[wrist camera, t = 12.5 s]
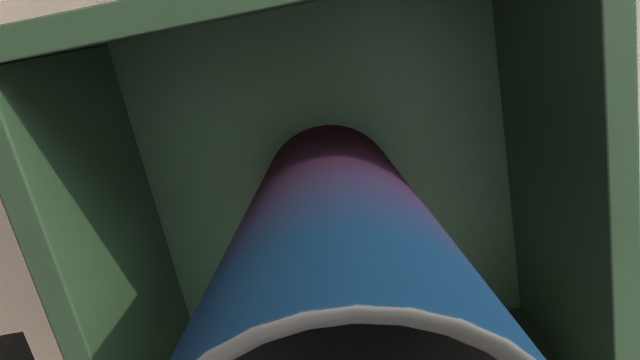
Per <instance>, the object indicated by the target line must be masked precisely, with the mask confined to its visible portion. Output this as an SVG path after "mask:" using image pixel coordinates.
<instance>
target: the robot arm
mask: <svg viewBox="0 0 640 360" xmlns="http://www.w3.org/2000/svg"><path fill="white" fill-rule="evenodd" d="M0 360H34V357H33V355H32V352H31V350H30V348H29V345H28V343H27V341H26V338H25V336H24V334H23V332H18V333H12V334H7V335H2V336H0Z"/></svg>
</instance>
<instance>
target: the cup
mask: <svg viewBox="0 0 640 360" xmlns="http://www.w3.org/2000/svg"><path fill="white" fill-rule="evenodd" d="M170 360H546V359H545V357H544V356H543V355H542V354H541V352H540V351H539V350H538V349H537V347H536V346H535V345H534V343H533V342H532V341H531V340H530V338H529V337H528V336H527V335H526V333H525V332H524V331H523V329H522V328H521V327H520V326H519V324H518V323H517V322H516V321H515V319H514V318H513V317H512V315H511V314H510V313H509V312H508V310H507V309H506V308H505V306H504V305H503V304H502V303H501V301H500V300H499V299H498V298H497V296H496V295H495V294H494V292H493V291H492V290H491V289H490V287H489V286H488V285H487V284H486V282H485V281H484V280H483V278H482V277H481V276H480V275H479V273H478V272H477V271H476V269H475V268H474V267H473V266H472V264H471V263H470V262H469V261H468V259H467V258H466V257H465V255H464V254H463V253H462V252H461V250H460V249H459V248H458V247H457V245H456V244H455V243H454V241H453V240H452V239H451V238H450V236H449V235H448V234H447V233H446V231H445V230H444V229H443V227H442V226H441V225H440V224H439V222H438V221H437V220H436V218H435V217H434V216H433V215H432V213H431V212H430V211H429V210H428V208H427V207H426V206H425V204H424V203H423V202H422V201H421V199H420V198H419V197H418V196H417V194H416V193H415V192H414V190H413V189H412V188H411V187H410V185H409V184H408V183H407V181H406V180H405V179H404V178H403V176H402V175H401V174H400V173H399V171H398V170H397V169H396V167H395V166H394V165H393V164H392V162H391V161H390V160H389V159H388V157H387V156H386V155H385V153H384V152H383V151H382V150H381V149H380V147H379V146H378V145H377V144H376V143H375V142H374V141H373V140H372V139H370V138H369V137H368V136H366V135H365V134H363V133H361V132H359V131H357V130H355V129H353V128H349V127H345V126H341V125H322V126H315V127H312V128H309V129H306V130H304V131H302V132H300V133H298V134H296V135H295V136H293V137H292V138H290V139H289V140H288V141H287V142H286V143H285V144H284V145H283V146H282V147H281V148H280V150H279V151H278V152H277V154H276V155H275V157H274V159H273V161H272V163H271V164H270V166H269V168H268V170H267V172H266V174H265V176H264V178H263V180H262V182H261V184H260V186H259V188H258V190H257V192H256V193H255V195H254V197H253V199H252V201H251V203H250V205H249V207H248V209H247V211H246V213H245V215H244V217H243V219H242V221H241V222H240V224H239V226H238V228H237V230H236V232H235V234H234V236H233V238H232V240H231V242H230V244H229V246H228V248H227V250H226V252H225V253H224V255H223V257H222V259H221V261H220V263H219V265H218V267H217V269H216V271H215V273H214V275H213V277H212V279H211V281H210V282H209V284H208V286H207V288H206V290H205V292H204V294H203V296H202V298H201V300H200V302H199V304H198V306H197V308H196V310H195V311H194V313H193V315H192V317H191V319H190V321H189V323H188V325H187V327H186V329H185V331H184V333H183V335H182V337H181V339H180V341H179V342H178V344H177V346H176V348H175V350H174V352H173V354H172V356H171V358H170Z"/></svg>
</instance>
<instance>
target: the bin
mask: <svg viewBox="0 0 640 360" xmlns="http://www.w3.org/2000/svg"><path fill="white" fill-rule="evenodd" d="M322 125H341V126H345V127H349V128H353V129H355V130H357V131H359V132H361V133H363V134H365V135H366V136H368V137H369V138H370V139H372V140H373V141H374V142H375V143H376V144H377V145H378V146H379V147H380V149H381V150H382V151H383V152H384V153H385V155H386V156H387V157H388V159H389V160H390V161H391V162H392V164H393V165H394V166H395V167H396V169H397V170H398V171H399V173H400V174H401V175H402V176H403V178H404V179H405V180H406V181H407V183H408V184H409V185H410V187H411V188H412V189H413V190H414V192H415V193H416V194H417V196H418V197H419V198H420V199H421V201H422V202H423V203H424V204H425V206H426V207H427V208H428V210H429V211H430V212H431V213H432V215H433V216H434V217H435V218H436V220H437V221H438V222H439V224H440V225H441V226H442V227H443V229H444V230H445V231H446V233H447V234H448V235H449V236H450V238H451V239H452V240H453V241H454V243H455V244H456V245H457V247H458V248H459V249H460V250H461V252H462V253H463V254H464V255H465V257H466V258H467V259H468V261H469V262H470V263H471V264H472V266H473V267H474V268H475V269H476V271H477V272H478V273H479V275H480V276H481V277H482V278H483V280H484V281H485V282H486V284H487V285H488V286H489V287H490V289H491V290H492V291H493V292H494V294H495V295H496V296H497V298H498V299H499V300H500V301H501V303H502V304H503V305H504V306H505V308H506V309H507V310H508V312H509V313H510V314H511V315H512V317H513V318H514V319H515V321H516V322H517V323H518V324H519V326H520V327H521V328H522V329H523V331H524V332H525V333H526V335H527V336H528V337H529V338H530V340H531V341H532V342H533V343H534V345H535V346H536V347H537V349H538V350H539V351H540V352H541V354H542V355H543V356H544V357H545V359H546V360H640V173H639V121H638V68H637V16H636V0H118V1H113V2H108V3H104V4H99V5H94V6H89V7H84V8H79V9H75V10H70V11H65V12H60V13H55V14H50V15H46V16H41V17H36V18H31V19H26V20H21V21H17V22H12V23H7V24H2V25H0V198H1V201H2V203H3V206H4V208H5V211H6V213H7V216H8V219H9V221H10V224H11V226H12V229H13V231H14V234H15V237H16V239H17V242H18V244H19V247H20V249H21V252H22V254H23V257H24V260H25V262H26V265H27V267H28V270H29V272H30V275H31V277H32V280H33V283H34V285H35V288H36V290H37V293H38V295H39V298H40V301H41V303H42V306H43V308H44V311H45V313H46V316H47V318H48V321H49V324H50V326H51V329H52V331H53V334H54V336H55V339H56V342H57V344H58V347H59V349H60V352H61V354H62V357H63V359H64V360H170V358H171V356H172V354H173V352H174V350H175V348H176V346H177V344H178V342H179V341H180V339H181V337H182V335H183V333H184V331H185V329H186V327H187V325H188V323H189V321H190V319H191V317H192V315H193V313H194V311H195V310H196V308H197V306H198V304H199V302H200V300H201V298H202V296H203V294H204V292H205V290H206V288H207V286H208V284H209V282H210V281H211V279H212V277H213V275H214V273H215V271H216V269H217V267H218V265H219V263H220V261H221V259H222V257H223V255H224V253H225V252H226V250H227V248H228V246H229V244H230V242H231V240H232V238H233V236H234V234H235V232H236V230H237V228H238V226H239V224H240V222H241V221H242V219H243V217H244V215H245V213H246V211H247V209H248V207H249V205H250V203H251V201H252V199H253V197H254V195H255V193H256V192H257V190H258V188H259V186H260V184H261V182H262V180H263V178H264V176H265V174H266V172H267V170H268V168H269V166H270V164H271V163H272V161H273V159H274V157H275V155H276V154H277V152H278V151H279V150H280V148H281V147H282V146H283V145H284V144H285V143H286V142H287V141H288V140H289V139H290V138H292V137H293V136H295V135H296V134H298V133H300V132H302V131H304V130H306V129H309V128H312V127H315V126H322Z"/></svg>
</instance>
